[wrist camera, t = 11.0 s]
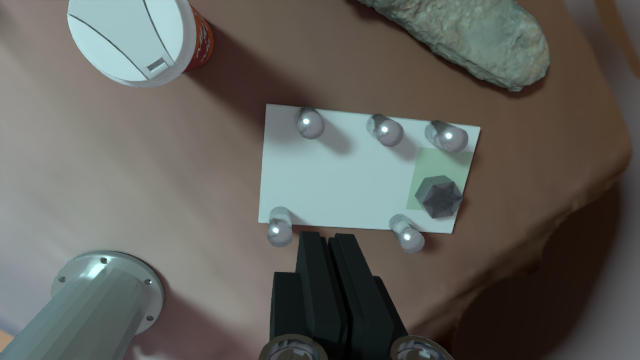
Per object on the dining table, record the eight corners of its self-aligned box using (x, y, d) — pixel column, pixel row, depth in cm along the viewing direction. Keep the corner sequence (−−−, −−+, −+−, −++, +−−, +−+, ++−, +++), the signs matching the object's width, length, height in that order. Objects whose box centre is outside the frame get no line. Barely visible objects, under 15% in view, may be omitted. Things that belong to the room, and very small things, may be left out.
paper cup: (239, 53, 35) (216, 49, 22) (178, 93, 35) (119, 111, 22) (192, -22, 32) (132, -80, 19) (126, 22, 33) (25, -5, 20)
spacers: (420, 233, 43) (438, 254, 39) (268, 225, 40) (266, 246, 36) (448, 121, 39) (471, 129, 34) (277, 102, 36) (277, 108, 31)
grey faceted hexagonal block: (453, 206, 43) (462, 214, 40) (414, 211, 42) (422, 220, 40) (454, 173, 41) (464, 180, 39) (414, 179, 41) (422, 186, 38)
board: (447, 229, 45) (451, 233, 44) (258, 218, 41) (258, 222, 40) (475, 126, 40) (480, 127, 39) (266, 103, 37) (266, 104, 36)
